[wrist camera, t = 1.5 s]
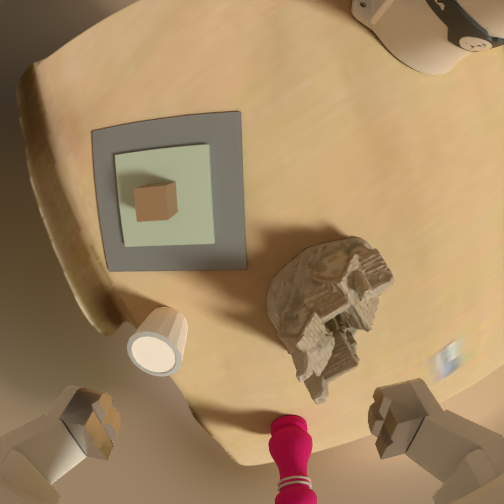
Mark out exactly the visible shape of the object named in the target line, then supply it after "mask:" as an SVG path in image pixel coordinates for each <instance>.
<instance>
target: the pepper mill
mask: <svg viewBox="0 0 504 504" xmlns="http://www.w3.org/2000/svg"><path fill="white" fill-rule="evenodd" d="M271 435H272V437H271V438H270V440H269V451H270V454H271V456H272V458H273V459H274V461H275V462H276V464H277V466H278V469H279V473H280V481H279V482H278V484H277V485H278V491H279V492H280V493H279V494H278V495H277V496H276V498H275V504H317V496H316V494H315V492H314V491H313V490H311V489H310V488H311V486H312V485H311V479H310V478H308V477H307V463H308V459H309V457H310V454H311V451H312V438H311V436H310V435H309V434H308V433H307V424H306V421H305V420H304V419H303V418H302V417H299V416H295V415H288V416H283V417H280V418H278V419H276V420H275V421H273V423H272V424H271Z"/></svg>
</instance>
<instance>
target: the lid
mask: <svg viewBox="0 0 504 504" xmlns="http://www.w3.org/2000/svg"><path fill="white" fill-rule="evenodd" d="M115 163H116V176H117V187H118V197H119V206H120V215H121V223H122V230H123V237H124V243H125V247H136V246H163V245H192V244H214V243H215V235H214V220H213V204H212V187H211V168H210V145H209V144H206V145H193V146H182V147H172V148H163V149H155V150H147V151H139V152H132V153H125V154H119V155H115Z"/></svg>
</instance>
